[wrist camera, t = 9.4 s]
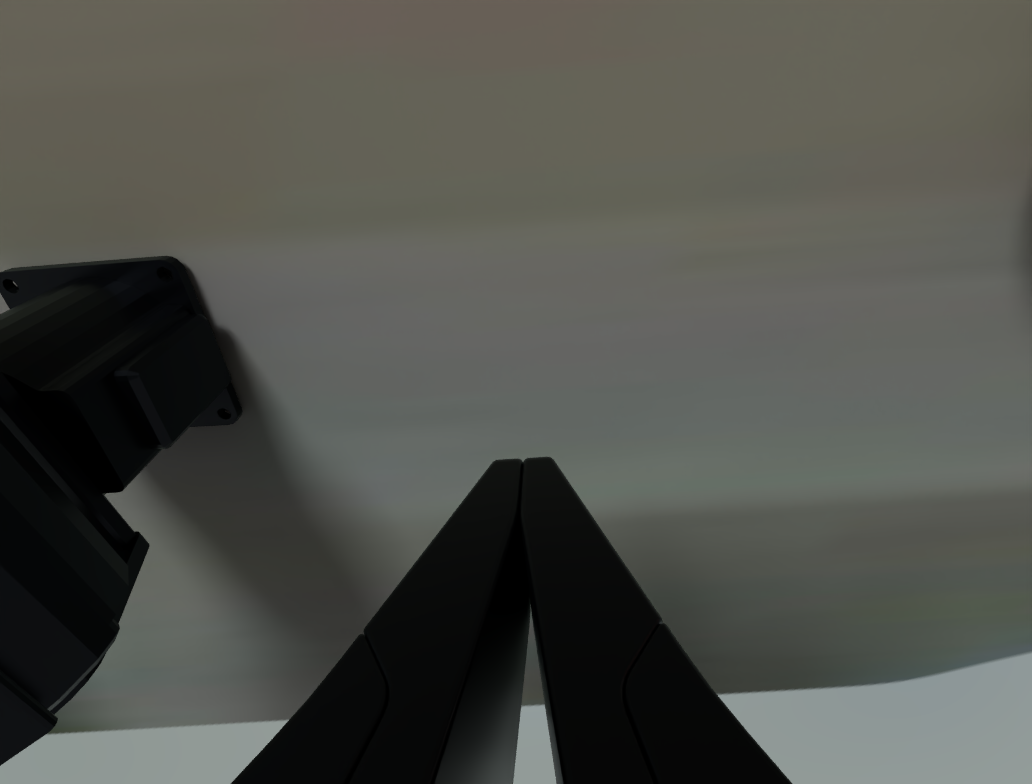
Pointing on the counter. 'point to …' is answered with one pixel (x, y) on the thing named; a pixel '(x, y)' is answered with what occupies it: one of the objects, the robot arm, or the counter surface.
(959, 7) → the counter surface
